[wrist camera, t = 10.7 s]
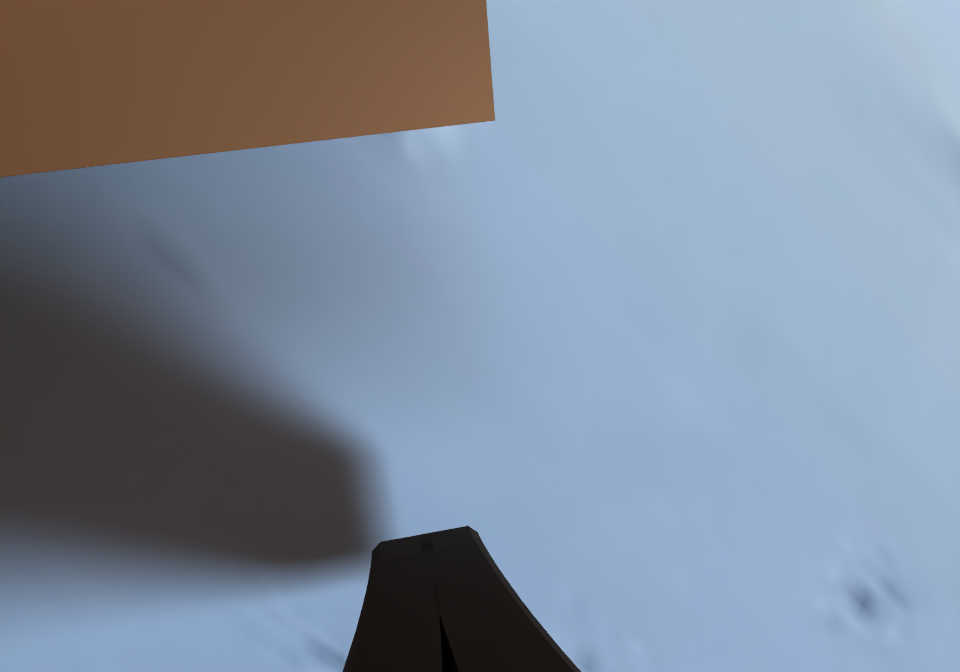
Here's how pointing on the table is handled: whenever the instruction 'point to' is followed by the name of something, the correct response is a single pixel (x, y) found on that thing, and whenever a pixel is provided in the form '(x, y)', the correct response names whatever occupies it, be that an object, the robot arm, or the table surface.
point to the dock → (229, 75)
